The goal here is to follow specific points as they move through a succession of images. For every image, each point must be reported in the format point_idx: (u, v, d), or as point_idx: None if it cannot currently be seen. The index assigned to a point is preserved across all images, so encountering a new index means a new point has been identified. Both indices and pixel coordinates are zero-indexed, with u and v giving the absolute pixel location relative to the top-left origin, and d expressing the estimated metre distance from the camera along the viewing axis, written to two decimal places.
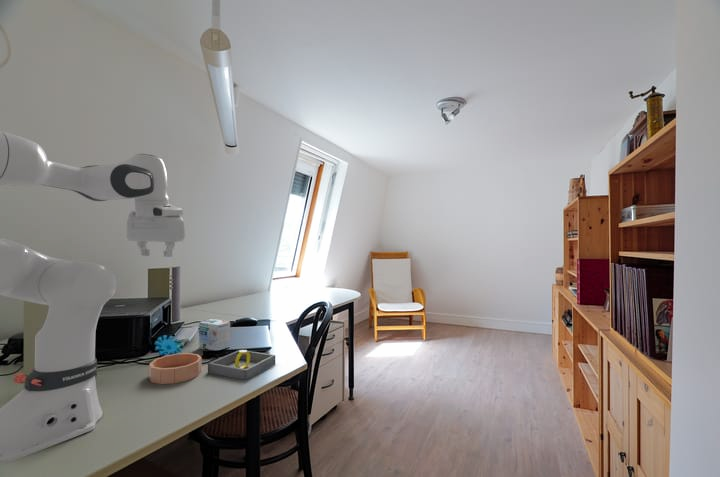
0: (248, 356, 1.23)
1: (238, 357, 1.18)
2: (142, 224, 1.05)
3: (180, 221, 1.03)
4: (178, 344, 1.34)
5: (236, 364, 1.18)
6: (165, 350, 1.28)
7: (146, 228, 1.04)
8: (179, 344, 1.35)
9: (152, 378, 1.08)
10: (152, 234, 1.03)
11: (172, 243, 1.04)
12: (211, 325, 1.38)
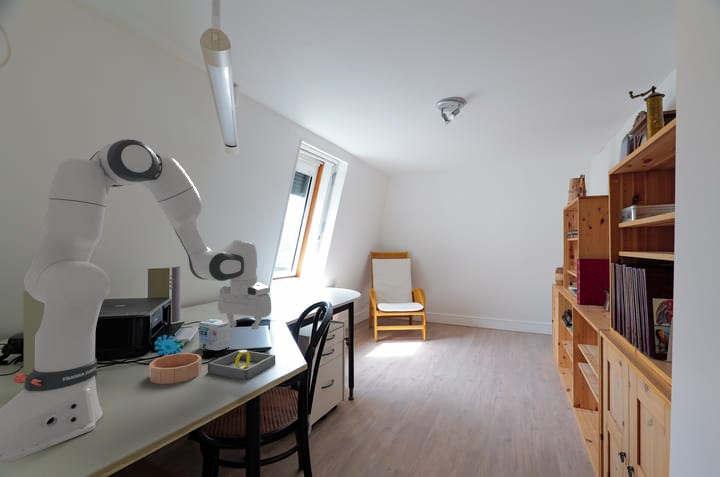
0: (248, 356, 1.23)
1: (238, 357, 1.18)
2: (233, 299, 1.20)
3: (268, 298, 1.18)
4: (178, 344, 1.34)
5: (236, 364, 1.18)
6: (165, 350, 1.29)
7: (237, 303, 1.19)
8: (179, 344, 1.35)
9: (152, 378, 1.08)
10: (243, 308, 1.19)
11: (260, 317, 1.19)
12: (211, 325, 1.38)
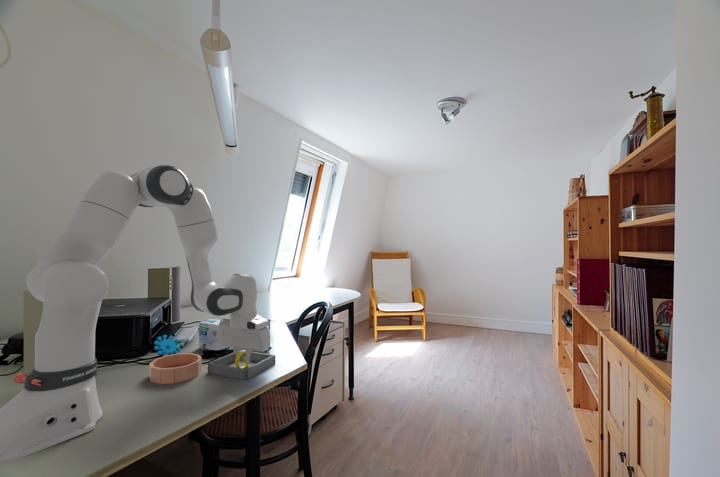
0: None
1: (238, 357, 1.18)
2: (233, 332, 1.20)
3: (268, 332, 1.18)
4: (178, 344, 1.34)
5: (236, 364, 1.18)
6: (164, 350, 1.29)
7: (237, 336, 1.19)
8: (179, 344, 1.35)
9: (152, 378, 1.08)
10: (242, 342, 1.18)
11: (251, 350, 1.20)
12: (211, 325, 1.38)
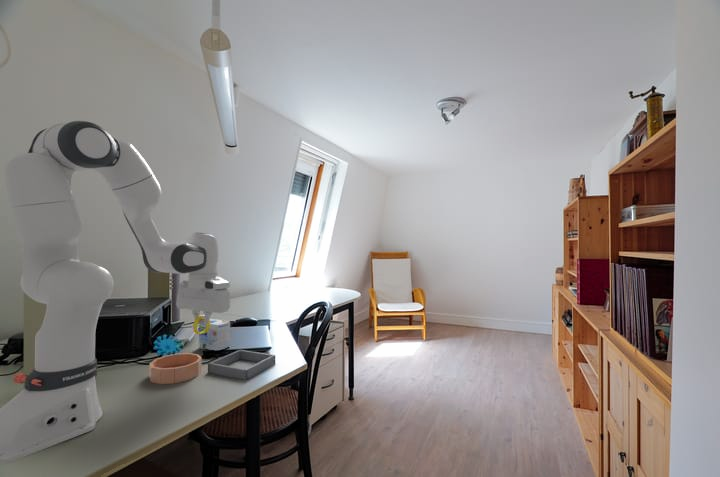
0: None
1: (196, 321, 1.14)
2: (192, 294, 1.16)
3: (227, 293, 1.14)
4: (178, 344, 1.34)
5: (194, 328, 1.13)
6: (163, 350, 1.29)
7: (195, 298, 1.15)
8: (179, 344, 1.35)
9: (152, 378, 1.08)
10: (200, 303, 1.14)
11: (210, 312, 1.15)
12: (211, 325, 1.38)
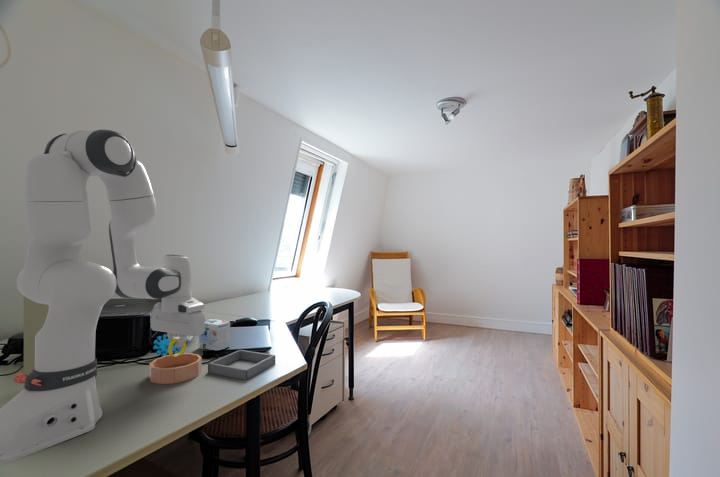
0: (184, 343, 1.17)
1: (171, 344, 1.12)
2: (166, 316, 1.14)
3: (202, 316, 1.12)
4: None
5: (169, 351, 1.12)
6: (163, 349, 1.29)
7: (170, 321, 1.13)
8: None
9: (152, 378, 1.08)
10: (175, 326, 1.12)
11: (185, 335, 1.13)
12: (211, 325, 1.38)
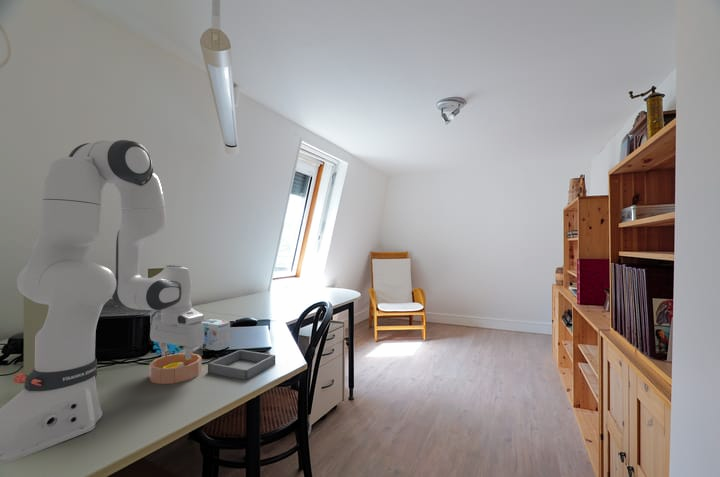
0: None
1: None
2: (165, 327, 1.14)
3: (201, 327, 1.12)
4: None
5: None
6: None
7: (169, 331, 1.13)
8: None
9: (152, 378, 1.08)
10: (174, 337, 1.12)
11: (192, 347, 1.12)
12: (211, 325, 1.38)
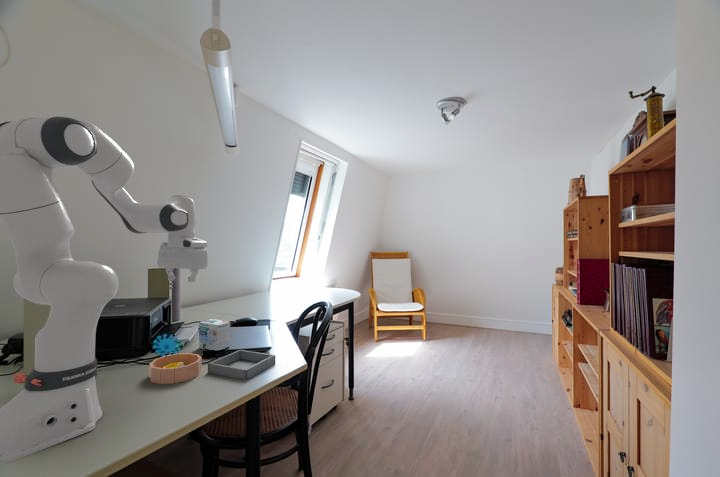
0: None
1: None
2: (171, 253, 1.24)
3: (205, 252, 1.22)
4: (177, 344, 1.35)
5: None
6: (162, 349, 1.29)
7: (175, 257, 1.23)
8: (178, 344, 1.35)
9: (152, 378, 1.08)
10: (180, 262, 1.22)
11: (196, 271, 1.22)
12: (211, 325, 1.38)
